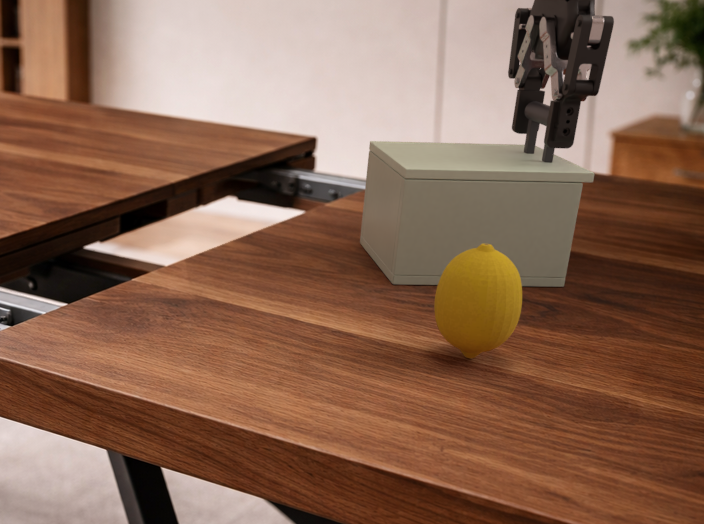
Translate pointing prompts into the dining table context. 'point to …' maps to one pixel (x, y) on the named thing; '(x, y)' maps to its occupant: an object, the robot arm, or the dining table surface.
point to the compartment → (466, 224)
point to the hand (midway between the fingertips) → (540, 139)
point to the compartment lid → (483, 158)
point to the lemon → (478, 300)
